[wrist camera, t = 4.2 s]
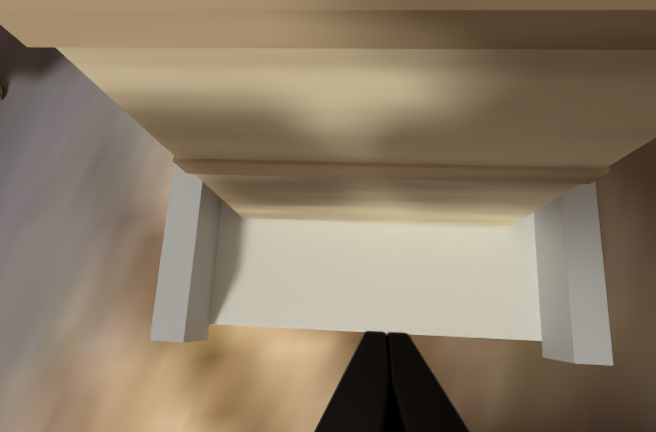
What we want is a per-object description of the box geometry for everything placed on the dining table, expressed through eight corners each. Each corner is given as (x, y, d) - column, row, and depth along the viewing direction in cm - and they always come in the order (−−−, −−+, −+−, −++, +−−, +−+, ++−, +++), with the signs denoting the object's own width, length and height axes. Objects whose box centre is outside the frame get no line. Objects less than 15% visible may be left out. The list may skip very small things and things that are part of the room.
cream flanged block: (515, 231, 18) (911, 9, 5) (237, 222, 19) (-17, 10, 6) (508, 88, 19) (799, -361, 7) (250, 85, 20) (71, -319, 7)
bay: (571, 357, 17) (665, 373, 12) (180, 336, 19) (110, 342, 13) (541, -36, 22) (601, -151, 16) (224, -33, 23) (185, -140, 18)
